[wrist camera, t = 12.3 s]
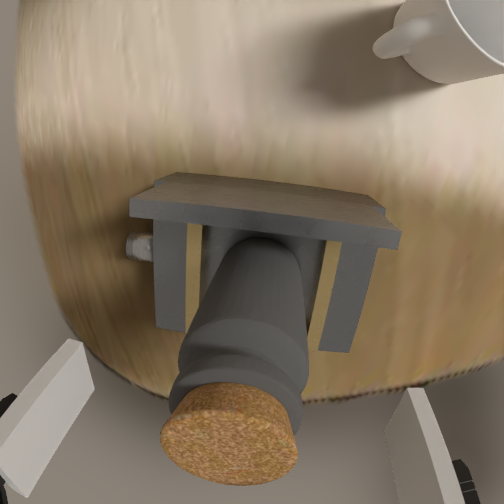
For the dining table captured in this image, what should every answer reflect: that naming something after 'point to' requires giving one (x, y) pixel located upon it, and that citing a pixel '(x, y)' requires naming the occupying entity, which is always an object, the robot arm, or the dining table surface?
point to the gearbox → (261, 226)
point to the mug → (447, 39)
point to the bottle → (242, 371)
